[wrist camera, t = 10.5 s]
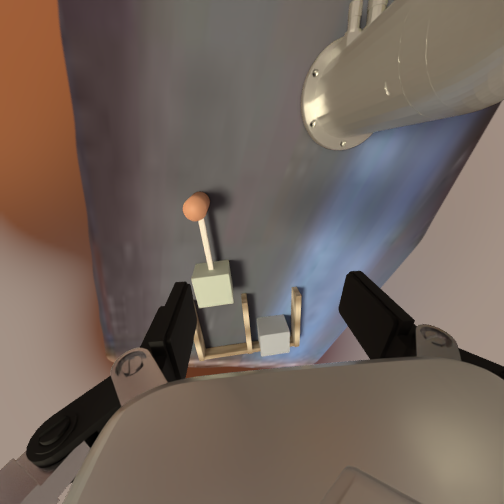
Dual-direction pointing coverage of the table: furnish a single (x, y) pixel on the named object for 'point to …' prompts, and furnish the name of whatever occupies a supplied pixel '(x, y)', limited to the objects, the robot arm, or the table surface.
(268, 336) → the blue-grey block
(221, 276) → the knob-topped lever
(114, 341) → the table surface
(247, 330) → the lane rack
